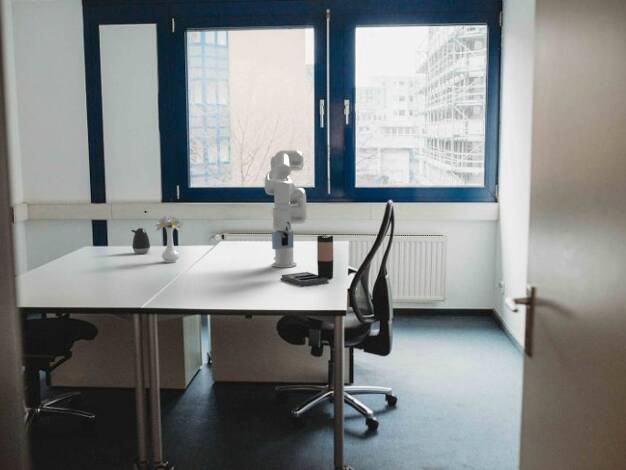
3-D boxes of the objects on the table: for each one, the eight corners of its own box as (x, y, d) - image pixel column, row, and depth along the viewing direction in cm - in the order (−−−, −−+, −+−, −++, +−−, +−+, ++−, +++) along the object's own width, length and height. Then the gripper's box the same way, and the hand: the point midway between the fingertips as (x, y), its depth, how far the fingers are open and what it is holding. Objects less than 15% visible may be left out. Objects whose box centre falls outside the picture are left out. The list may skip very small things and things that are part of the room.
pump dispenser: (130, 252, 407) (129, 227, 405) (148, 251, 411) (147, 226, 409) (134, 255, 398) (132, 229, 396) (152, 254, 402) (151, 228, 400)
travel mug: (320, 279, 322) (319, 237, 320) (315, 276, 330) (315, 235, 327) (335, 278, 324) (335, 236, 322) (330, 275, 332) (330, 234, 329)
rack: (280, 279, 323) (280, 274, 323) (305, 276, 331) (305, 270, 330) (302, 286, 307) (302, 281, 306) (328, 283, 314) (328, 277, 314)
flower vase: (185, 258, 384) (184, 214, 381) (178, 264, 366) (176, 218, 363) (162, 258, 385) (161, 214, 382) (154, 264, 367) (152, 218, 363)
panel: (272, 248, 328) (272, 232, 327) (290, 246, 334) (290, 230, 332) (275, 249, 326) (275, 232, 325) (293, 247, 331) (293, 231, 330)
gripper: (267, 205, 331) (268, 243, 334) (284, 209, 318) (284, 248, 321) (280, 204, 335) (281, 241, 338) (298, 208, 322) (298, 246, 325)
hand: (283, 244), depth 330 cm, fingers closed on panel, 3 cm apart
